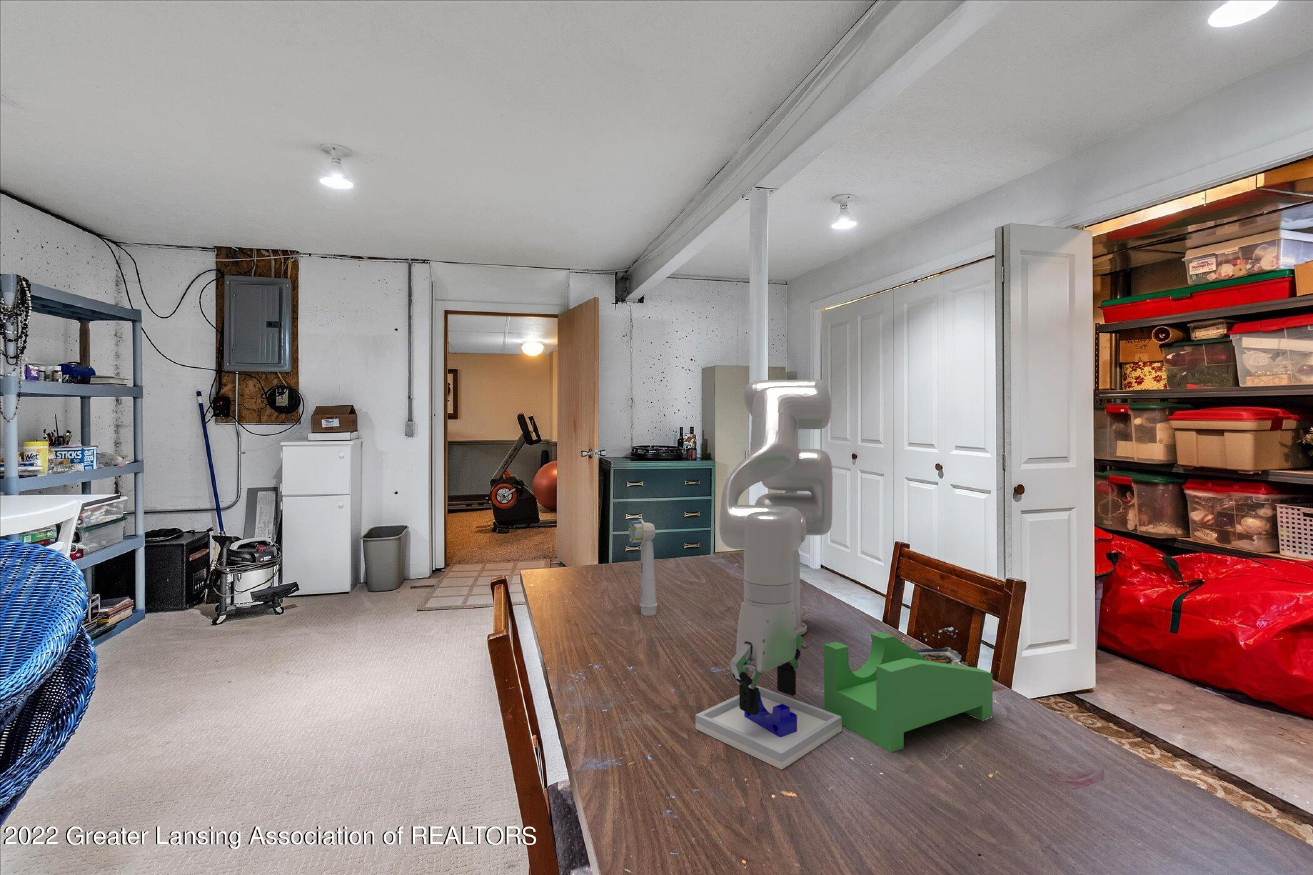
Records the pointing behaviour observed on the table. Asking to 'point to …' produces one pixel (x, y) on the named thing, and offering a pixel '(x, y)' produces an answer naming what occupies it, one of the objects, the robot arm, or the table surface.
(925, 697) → the green cradle stand
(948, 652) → the silver rectangular box
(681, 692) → the table surface
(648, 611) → the toothbrush head
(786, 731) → the cable holder
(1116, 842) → the table surface
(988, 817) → the table surface
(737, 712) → the tray
